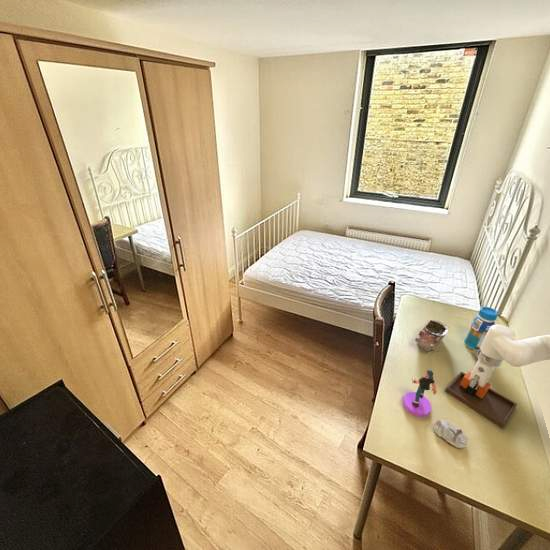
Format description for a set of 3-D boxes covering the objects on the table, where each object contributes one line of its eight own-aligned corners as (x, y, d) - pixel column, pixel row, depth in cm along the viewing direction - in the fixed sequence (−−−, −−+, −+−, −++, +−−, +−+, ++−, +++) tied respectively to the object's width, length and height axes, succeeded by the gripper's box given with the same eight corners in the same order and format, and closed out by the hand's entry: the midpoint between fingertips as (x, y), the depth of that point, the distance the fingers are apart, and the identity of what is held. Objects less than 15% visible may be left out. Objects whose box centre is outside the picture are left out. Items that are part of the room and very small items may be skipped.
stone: (468, 437, 98) (470, 432, 97) (462, 454, 93) (465, 449, 92) (437, 419, 103) (439, 415, 102) (431, 434, 99) (433, 429, 97)
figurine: (423, 395, 112) (437, 361, 103) (434, 417, 104) (450, 383, 95) (399, 394, 112) (410, 360, 104) (408, 416, 104) (421, 382, 95)
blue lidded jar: (462, 337, 142) (477, 303, 133) (482, 342, 139) (499, 308, 130) (464, 347, 136) (479, 313, 126) (485, 353, 133) (502, 318, 123)
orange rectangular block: (485, 394, 112) (491, 384, 110) (481, 400, 110) (486, 390, 107) (463, 381, 118) (468, 371, 115) (459, 386, 115) (463, 376, 113)
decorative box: (455, 345, 137) (462, 329, 132) (434, 364, 126) (441, 347, 122) (428, 330, 146) (433, 315, 141) (406, 347, 135) (411, 331, 131)
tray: (515, 407, 108) (517, 404, 107) (502, 428, 101) (504, 425, 100) (459, 374, 122) (461, 371, 121) (444, 391, 114) (446, 388, 113)
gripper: (493, 373, 98) (473, 408, 107) (510, 351, 107) (491, 385, 116) (469, 360, 103) (452, 395, 112) (487, 340, 112) (470, 373, 121)
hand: (472, 389), depth 114 cm, fingers closed on orange rectangular block, 4 cm apart
